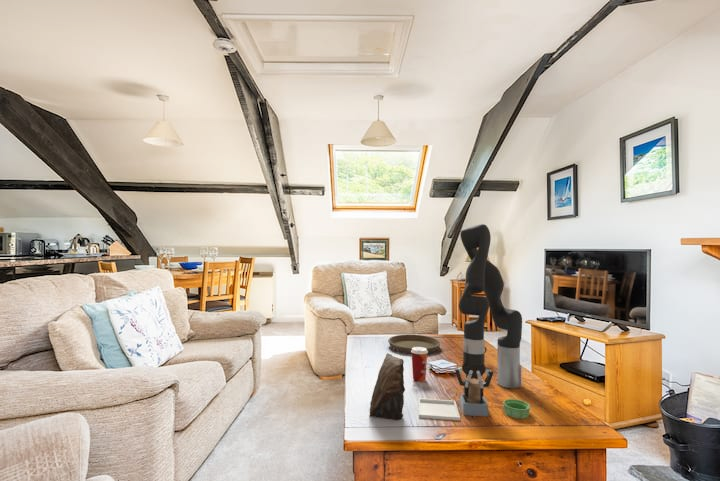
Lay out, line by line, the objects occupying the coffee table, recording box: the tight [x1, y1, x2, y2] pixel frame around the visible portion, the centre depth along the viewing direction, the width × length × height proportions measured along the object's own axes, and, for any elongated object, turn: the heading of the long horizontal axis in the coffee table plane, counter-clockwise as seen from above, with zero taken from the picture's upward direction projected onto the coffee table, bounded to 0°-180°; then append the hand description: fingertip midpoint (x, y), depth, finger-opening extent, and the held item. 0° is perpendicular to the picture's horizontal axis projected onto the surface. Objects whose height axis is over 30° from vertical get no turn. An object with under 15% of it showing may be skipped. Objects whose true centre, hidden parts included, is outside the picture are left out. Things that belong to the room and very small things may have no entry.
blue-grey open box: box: [459, 393, 489, 417], centre depth 135 cm, size 9×9×5 cm
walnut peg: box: [467, 380, 480, 403], centre depth 135 cm, size 4×4×10 cm
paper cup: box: [411, 347, 429, 383], centre depth 168 cm, size 8×8×14 cm
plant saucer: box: [388, 334, 441, 355], centre depth 221 cm, size 31×31×5 cm
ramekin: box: [503, 398, 531, 419], centre depth 133 cm, size 9×9×4 cm
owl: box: [369, 353, 406, 421], centre depth 134 cm, size 13×13×20 cm
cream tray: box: [417, 397, 461, 421], centre depth 134 cm, size 14×14×2 cm
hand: (473, 397), depth 135 cm, fingers closed on walnut peg, 4 cm apart
